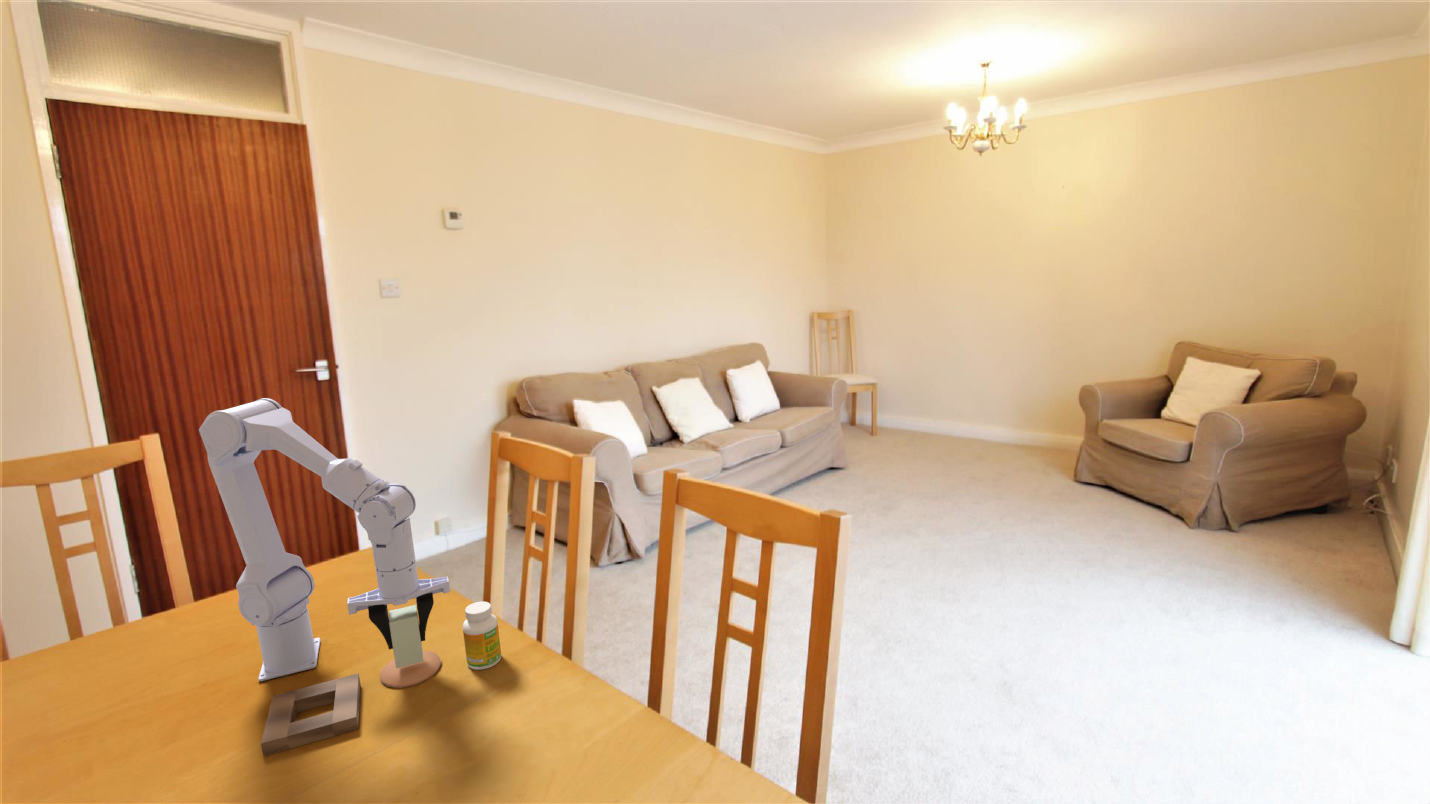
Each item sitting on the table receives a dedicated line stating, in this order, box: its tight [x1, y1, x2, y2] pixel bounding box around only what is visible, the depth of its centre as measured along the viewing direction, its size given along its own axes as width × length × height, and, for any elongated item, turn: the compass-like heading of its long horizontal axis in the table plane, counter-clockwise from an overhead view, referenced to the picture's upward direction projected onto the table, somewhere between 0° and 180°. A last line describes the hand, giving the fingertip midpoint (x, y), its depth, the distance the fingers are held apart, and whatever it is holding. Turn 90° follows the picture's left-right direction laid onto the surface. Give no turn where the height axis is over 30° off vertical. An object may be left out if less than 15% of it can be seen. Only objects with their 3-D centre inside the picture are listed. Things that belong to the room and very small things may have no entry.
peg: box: [388, 604, 424, 669], centre depth 108 cm, size 4×4×8 cm
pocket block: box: [260, 673, 362, 757], centre depth 98 cm, size 11×11×2 cm
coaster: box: [379, 650, 442, 689], centre depth 109 cm, size 9×9×1 cm
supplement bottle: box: [462, 601, 502, 671], centre depth 110 cm, size 5×5×10 cm
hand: (407, 642), depth 108 cm, fingers closed on peg, 4 cm apart
